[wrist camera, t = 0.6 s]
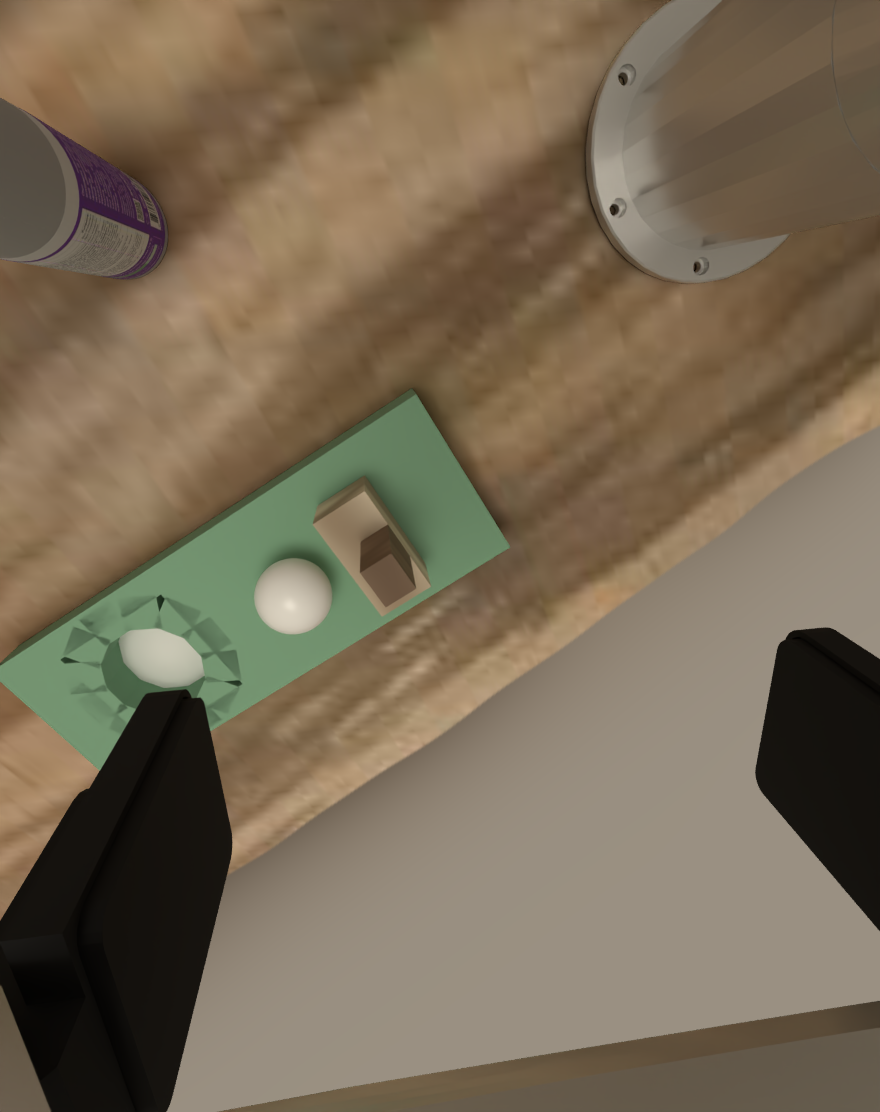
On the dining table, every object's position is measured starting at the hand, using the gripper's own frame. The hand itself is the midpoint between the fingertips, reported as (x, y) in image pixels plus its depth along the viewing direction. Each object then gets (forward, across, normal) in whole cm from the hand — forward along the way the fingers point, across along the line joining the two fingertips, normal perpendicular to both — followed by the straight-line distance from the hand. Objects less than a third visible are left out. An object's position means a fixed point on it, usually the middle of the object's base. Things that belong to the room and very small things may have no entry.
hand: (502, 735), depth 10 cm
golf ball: (+22, +6, +7) cm, 24 cm away
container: (+27, +13, -11) cm, 32 cm away
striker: (+24, +2, +5) cm, 24 cm away
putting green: (+27, +9, +8) cm, 30 cm away
